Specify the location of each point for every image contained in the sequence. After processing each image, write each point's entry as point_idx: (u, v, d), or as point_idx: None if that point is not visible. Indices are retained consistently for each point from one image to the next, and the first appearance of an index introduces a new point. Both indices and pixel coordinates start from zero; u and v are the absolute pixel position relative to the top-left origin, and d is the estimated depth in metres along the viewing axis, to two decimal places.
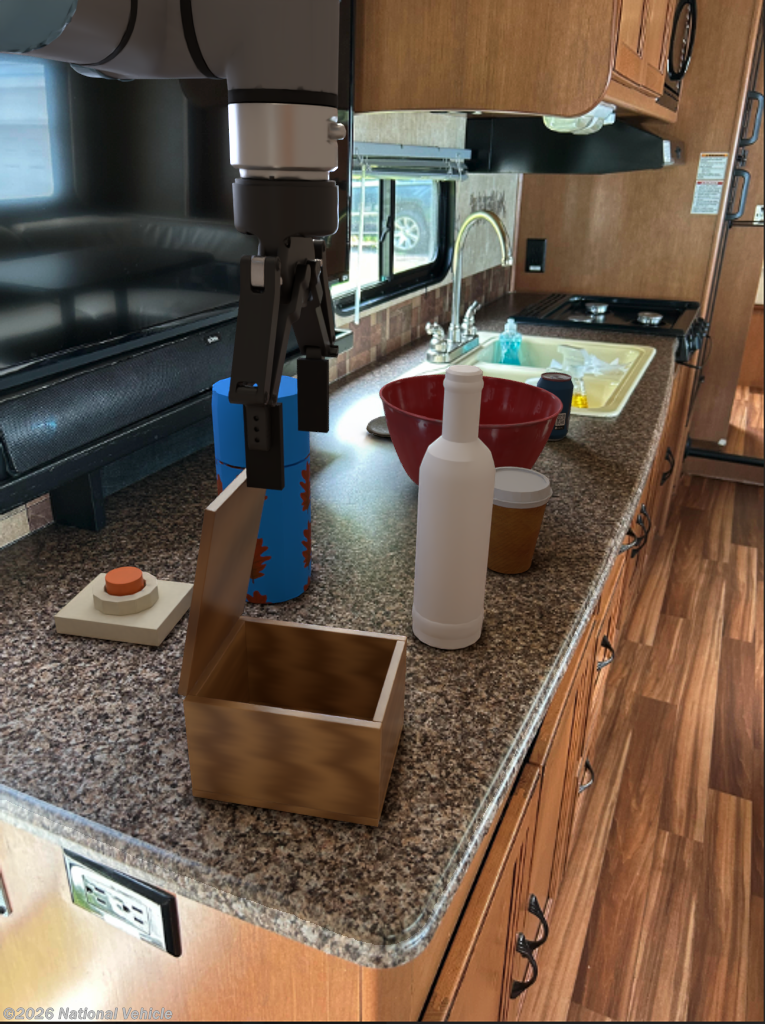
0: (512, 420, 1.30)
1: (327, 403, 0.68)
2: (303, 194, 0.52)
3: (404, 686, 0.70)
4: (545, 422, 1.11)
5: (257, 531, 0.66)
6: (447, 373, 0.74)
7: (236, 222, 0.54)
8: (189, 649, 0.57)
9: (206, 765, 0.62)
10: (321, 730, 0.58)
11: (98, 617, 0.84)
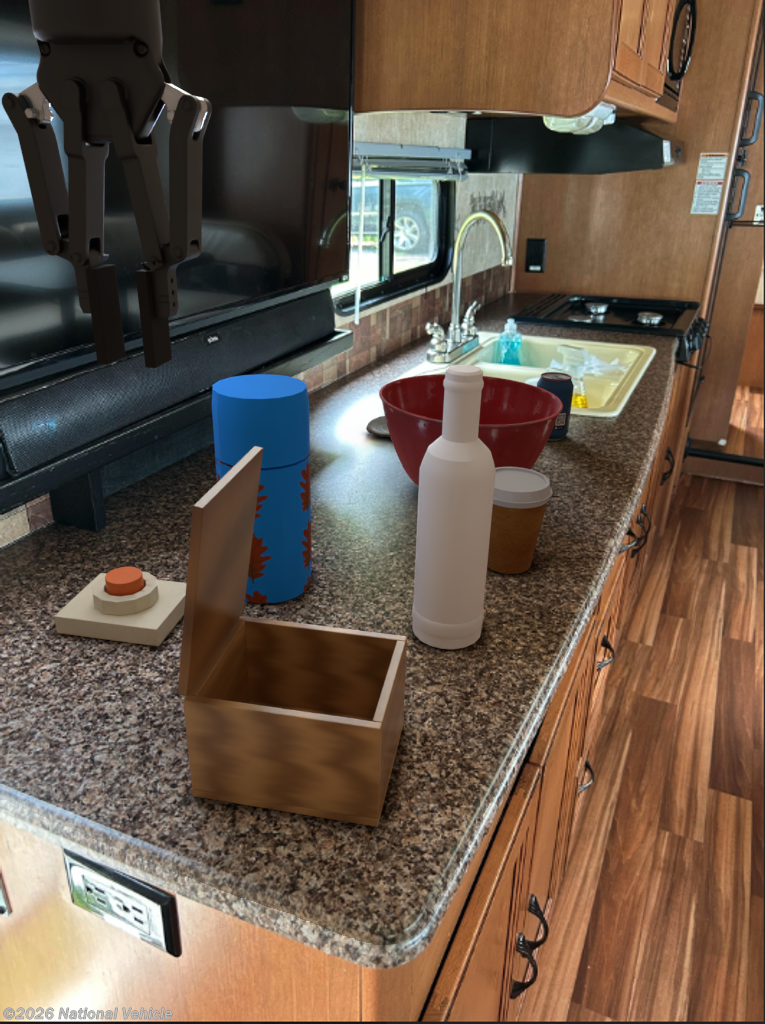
0: (512, 420, 1.30)
1: (119, 318, 0.56)
2: None
3: (404, 686, 0.70)
4: (545, 422, 1.11)
5: (252, 529, 0.66)
6: (447, 373, 0.74)
7: (107, 23, 0.44)
8: (186, 648, 0.57)
9: (206, 765, 0.62)
10: (321, 730, 0.58)
11: (98, 617, 0.84)
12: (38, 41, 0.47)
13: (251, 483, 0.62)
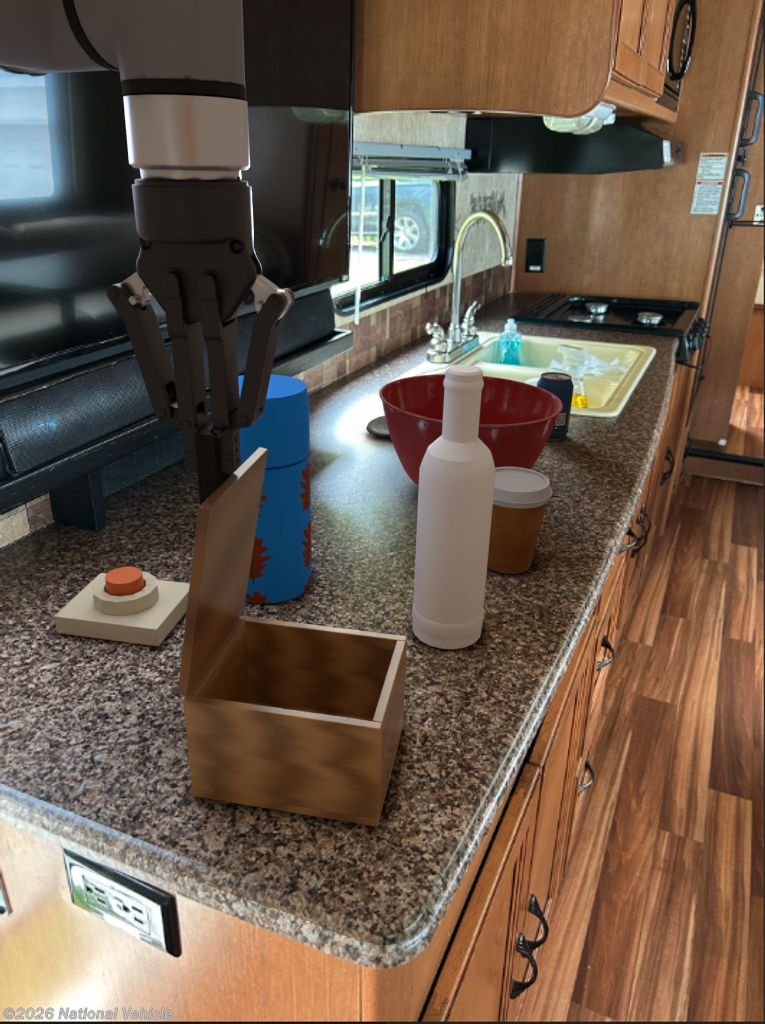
0: (512, 420, 1.30)
1: None
2: None
3: (404, 686, 0.70)
4: (545, 422, 1.11)
5: (254, 530, 0.66)
6: (447, 373, 0.74)
7: (210, 231, 0.48)
8: (187, 648, 0.57)
9: (206, 765, 0.62)
10: (321, 730, 0.58)
11: (98, 617, 0.84)
12: (140, 236, 0.51)
13: (255, 484, 0.62)
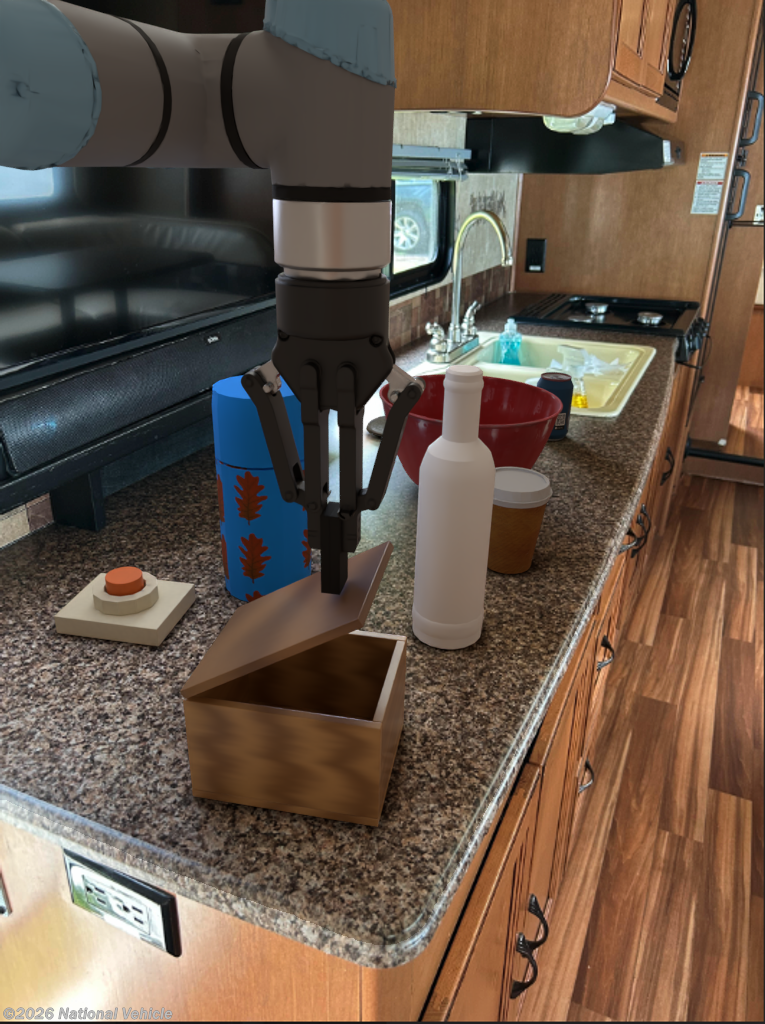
0: (512, 420, 1.30)
1: None
2: None
3: (404, 686, 0.70)
4: (545, 422, 1.11)
5: None
6: (447, 373, 0.74)
7: (356, 329, 0.48)
8: (228, 677, 0.58)
9: (206, 765, 0.62)
10: (321, 730, 0.58)
11: (98, 617, 0.84)
12: (279, 329, 0.51)
13: None
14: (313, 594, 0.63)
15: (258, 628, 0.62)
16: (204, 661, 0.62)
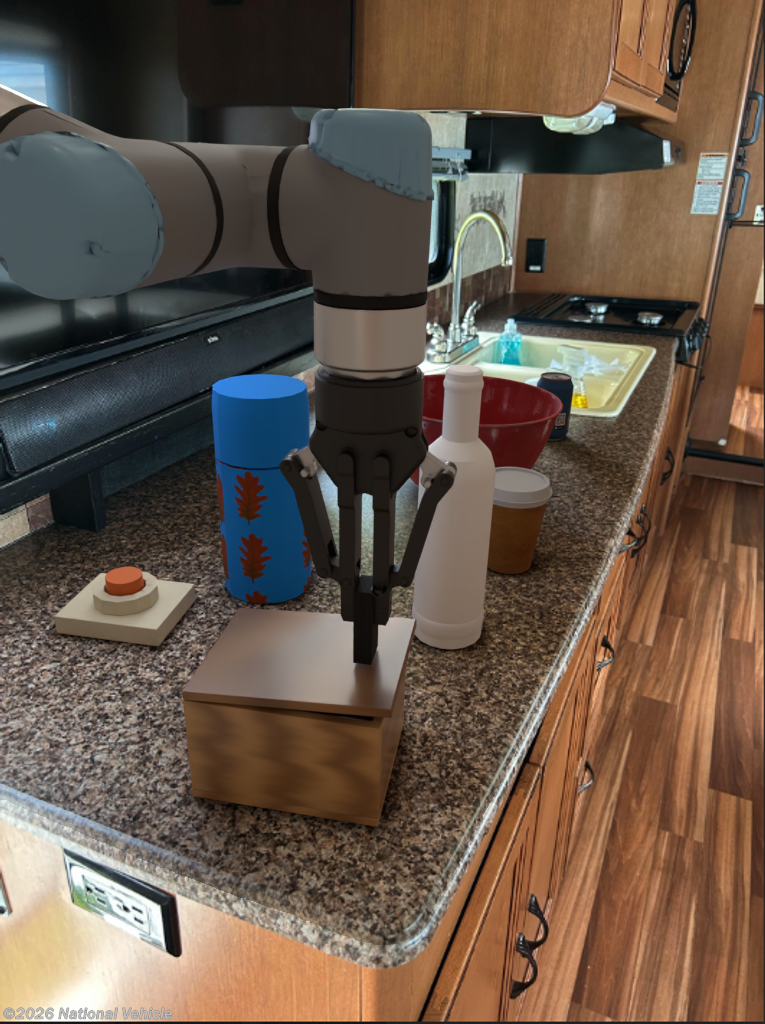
0: (512, 420, 1.30)
1: None
2: None
3: (404, 686, 0.70)
4: (545, 422, 1.11)
5: None
6: (447, 373, 0.74)
7: (393, 424, 0.51)
8: (237, 701, 0.58)
9: (206, 765, 0.62)
10: (321, 730, 0.58)
11: (98, 617, 0.84)
12: (317, 419, 0.53)
13: None
14: (333, 643, 0.64)
15: (271, 654, 0.63)
16: (207, 664, 0.62)
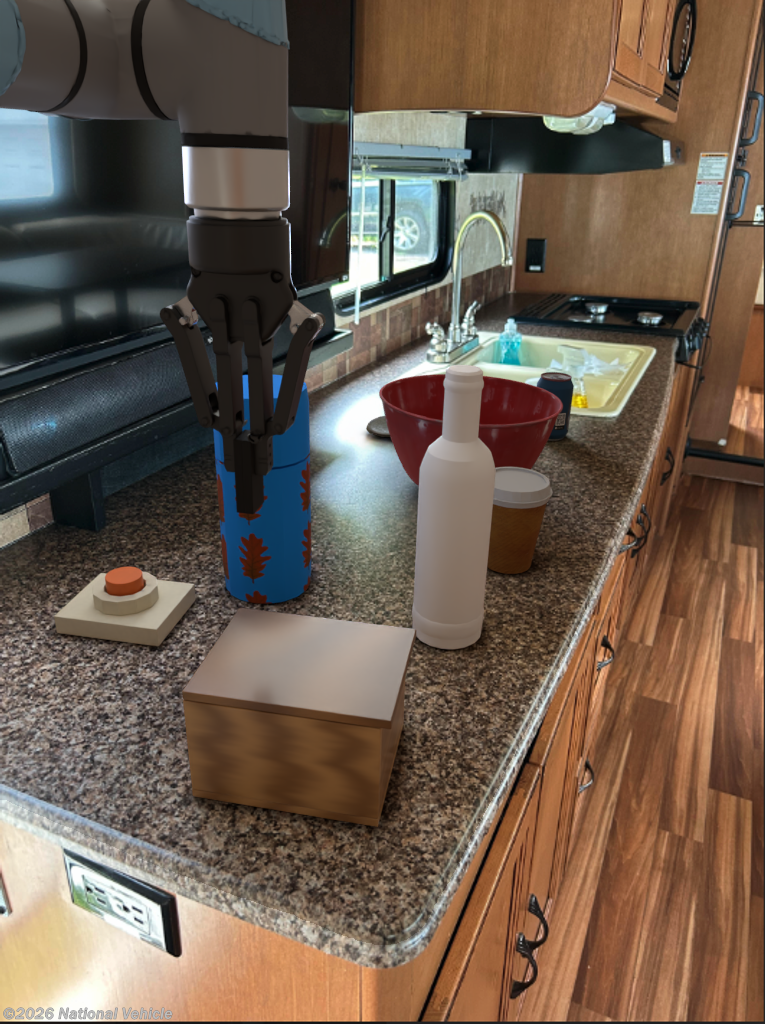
0: (512, 420, 1.30)
1: None
2: None
3: (404, 686, 0.70)
4: (545, 422, 1.11)
5: None
6: (447, 373, 0.74)
7: (254, 264, 0.55)
8: (237, 704, 0.58)
9: (206, 765, 0.62)
10: (321, 730, 0.58)
11: (98, 617, 0.84)
12: (191, 266, 0.57)
13: None
14: (333, 650, 0.64)
15: (271, 658, 0.63)
16: (208, 665, 0.62)
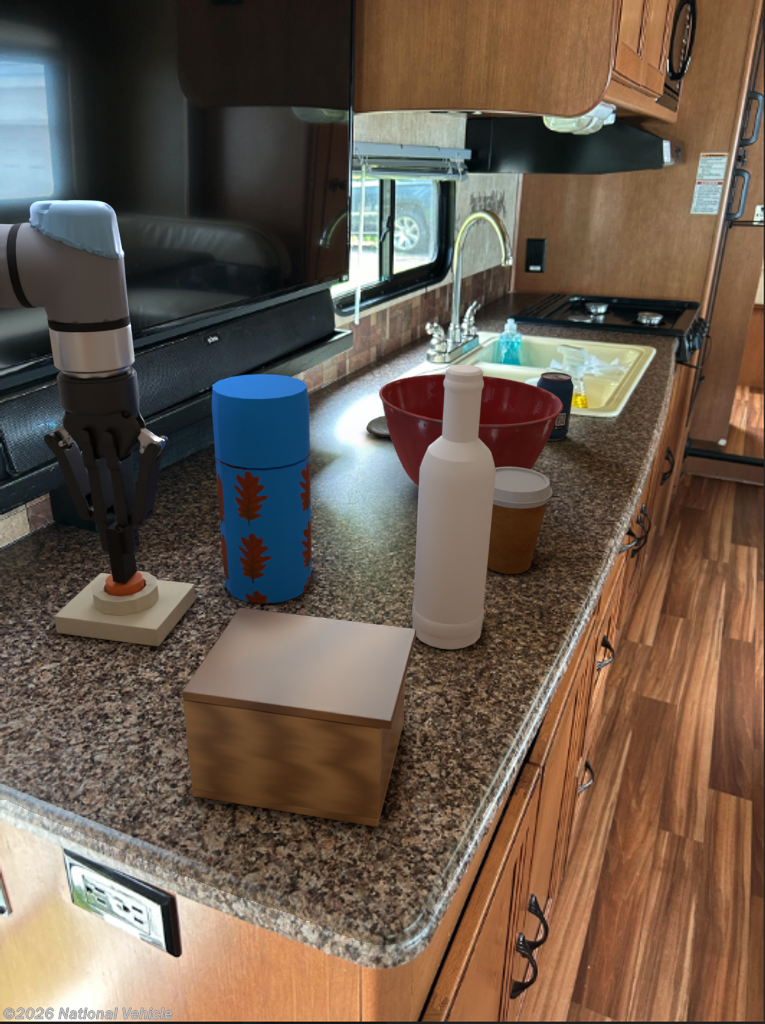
0: (512, 420, 1.30)
1: None
2: None
3: (404, 686, 0.70)
4: (545, 422, 1.11)
5: None
6: (447, 373, 0.74)
7: (106, 409, 0.74)
8: (237, 704, 0.58)
9: (206, 765, 0.62)
10: (321, 730, 0.58)
11: (98, 617, 0.84)
12: None
13: None
14: (333, 650, 0.64)
15: (271, 658, 0.63)
16: (208, 665, 0.62)
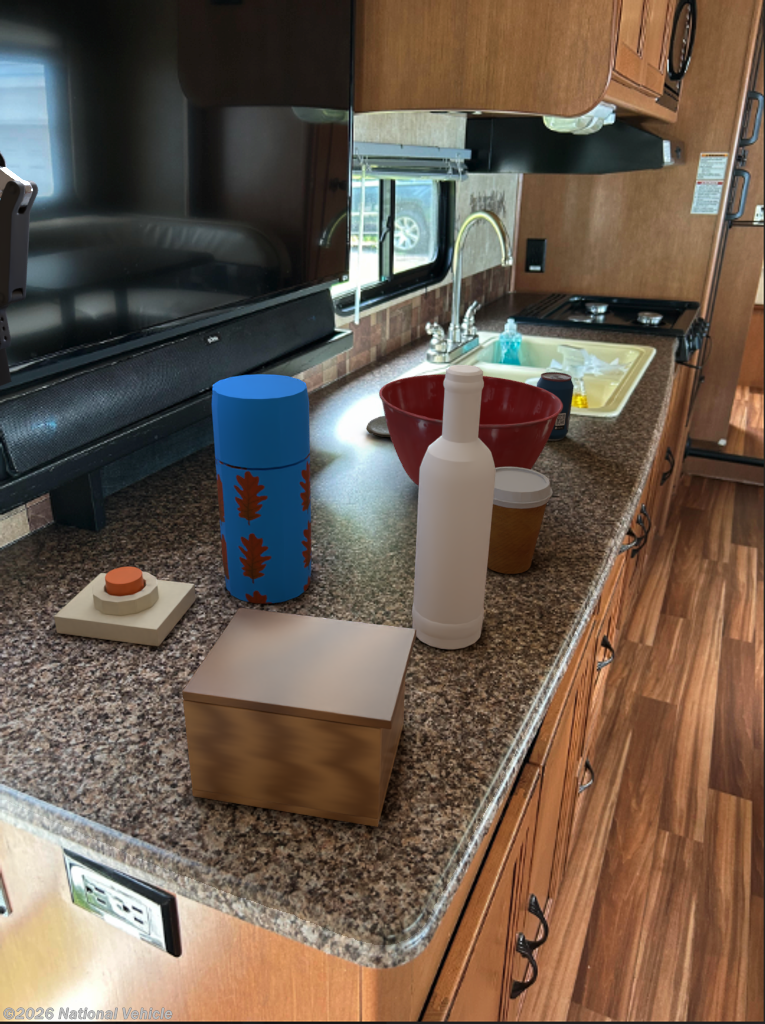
0: (512, 420, 1.30)
1: None
2: None
3: (404, 686, 0.70)
4: (545, 422, 1.11)
5: None
6: (447, 373, 0.74)
7: None
8: (237, 704, 0.58)
9: (206, 765, 0.62)
10: (321, 730, 0.58)
11: (98, 617, 0.84)
12: None
13: None
14: (333, 650, 0.64)
15: (271, 658, 0.63)
16: (208, 665, 0.62)
